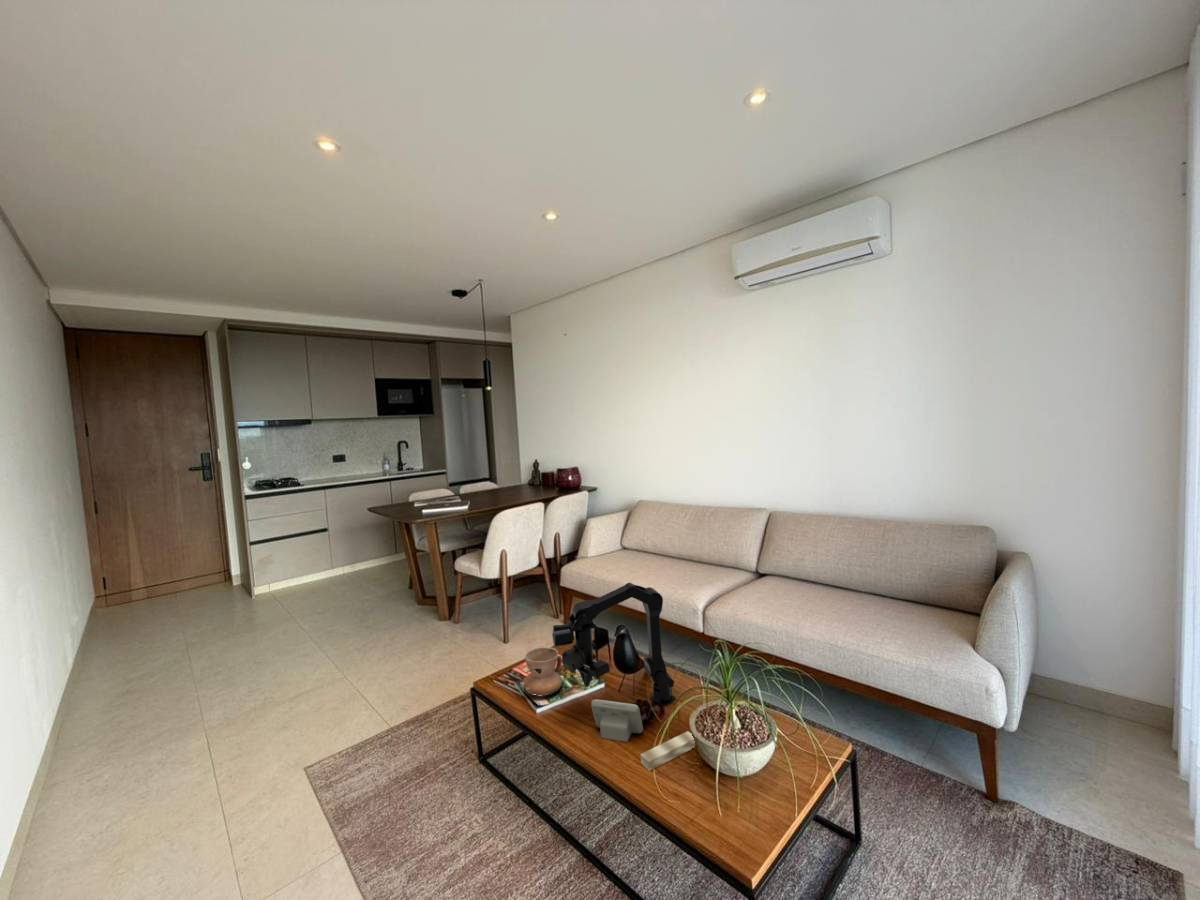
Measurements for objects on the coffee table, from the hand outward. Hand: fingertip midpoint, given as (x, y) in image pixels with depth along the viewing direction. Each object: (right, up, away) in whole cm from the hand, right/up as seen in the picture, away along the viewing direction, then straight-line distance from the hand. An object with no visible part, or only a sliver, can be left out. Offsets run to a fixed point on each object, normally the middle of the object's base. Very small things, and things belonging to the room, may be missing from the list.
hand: (586, 686), depth 167 cm
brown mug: (-16, -11, +19) cm, 27 cm away
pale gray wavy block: (+25, -10, -22) cm, 35 cm away
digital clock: (+10, -10, -10) cm, 17 cm away
